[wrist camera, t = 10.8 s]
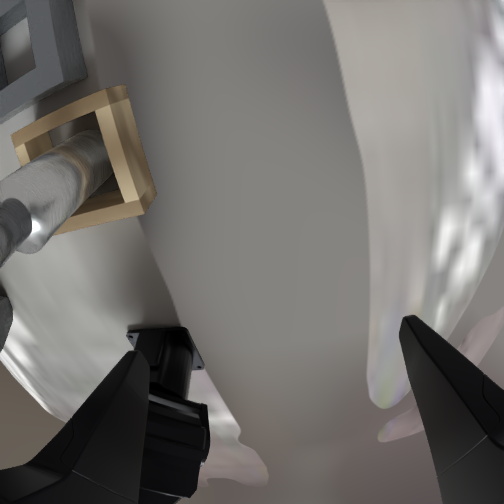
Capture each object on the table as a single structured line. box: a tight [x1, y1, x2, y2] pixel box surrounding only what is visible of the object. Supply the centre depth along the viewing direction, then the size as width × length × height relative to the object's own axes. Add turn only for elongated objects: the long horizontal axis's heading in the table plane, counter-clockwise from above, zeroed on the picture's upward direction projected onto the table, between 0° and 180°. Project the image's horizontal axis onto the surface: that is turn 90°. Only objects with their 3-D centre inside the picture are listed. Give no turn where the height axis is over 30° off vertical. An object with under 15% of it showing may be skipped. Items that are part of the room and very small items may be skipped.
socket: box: [0, 0, 88, 124], centre depth 12 cm, size 9×9×3 cm
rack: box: [11, 84, 157, 236], centre depth 18 cm, size 8×8×3 cm
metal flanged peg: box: [0, 130, 114, 268], centre depth 13 cm, size 4×4×13 cm
